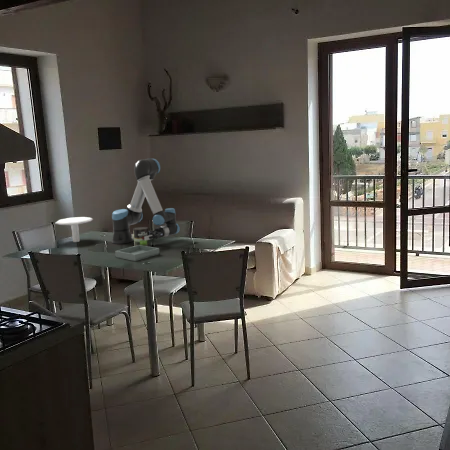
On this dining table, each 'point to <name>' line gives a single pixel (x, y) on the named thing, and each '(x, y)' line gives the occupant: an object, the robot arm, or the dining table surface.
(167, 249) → the dining table surface
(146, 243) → the coffee can
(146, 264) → the dining table surface
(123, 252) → the tray
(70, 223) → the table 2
